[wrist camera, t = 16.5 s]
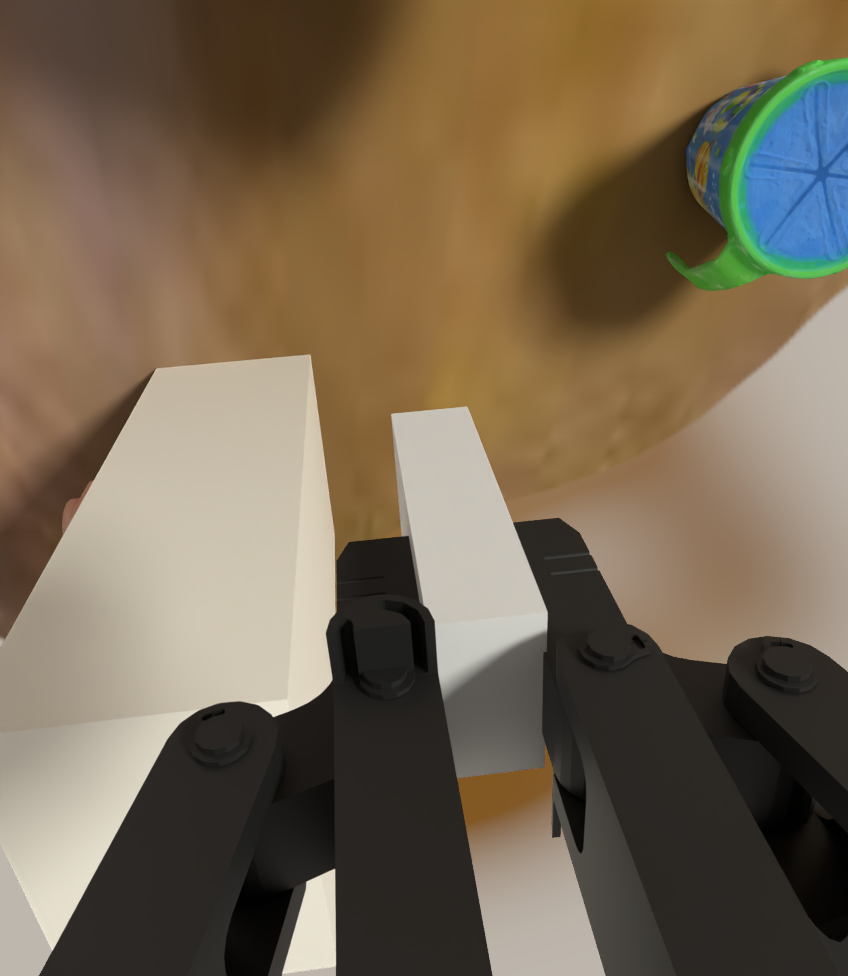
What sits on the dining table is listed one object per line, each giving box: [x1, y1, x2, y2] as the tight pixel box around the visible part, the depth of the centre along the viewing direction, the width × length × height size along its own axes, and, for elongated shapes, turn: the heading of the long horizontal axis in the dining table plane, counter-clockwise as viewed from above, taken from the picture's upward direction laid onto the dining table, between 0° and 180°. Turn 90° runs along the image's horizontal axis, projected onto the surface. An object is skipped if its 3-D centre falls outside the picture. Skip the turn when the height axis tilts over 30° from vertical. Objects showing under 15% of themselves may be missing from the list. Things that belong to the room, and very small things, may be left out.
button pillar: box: [0, 355, 336, 974], centre depth 41 cm, size 10×14×32 cm
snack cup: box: [666, 58, 848, 291], centre depth 44 cm, size 16×10×10 cm
